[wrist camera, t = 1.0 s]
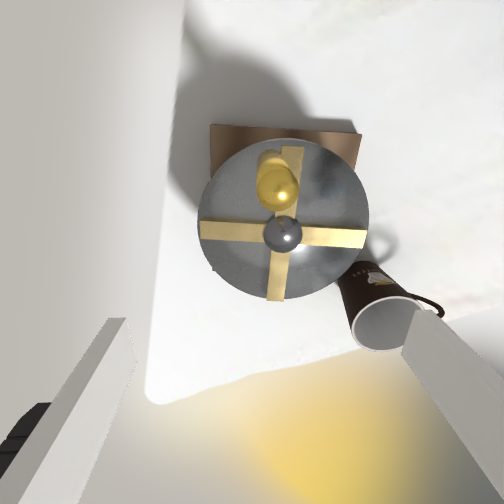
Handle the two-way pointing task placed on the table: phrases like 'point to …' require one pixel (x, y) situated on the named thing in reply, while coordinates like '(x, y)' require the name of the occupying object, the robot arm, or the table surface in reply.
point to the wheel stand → (239, 137)
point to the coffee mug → (378, 307)
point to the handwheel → (283, 219)
